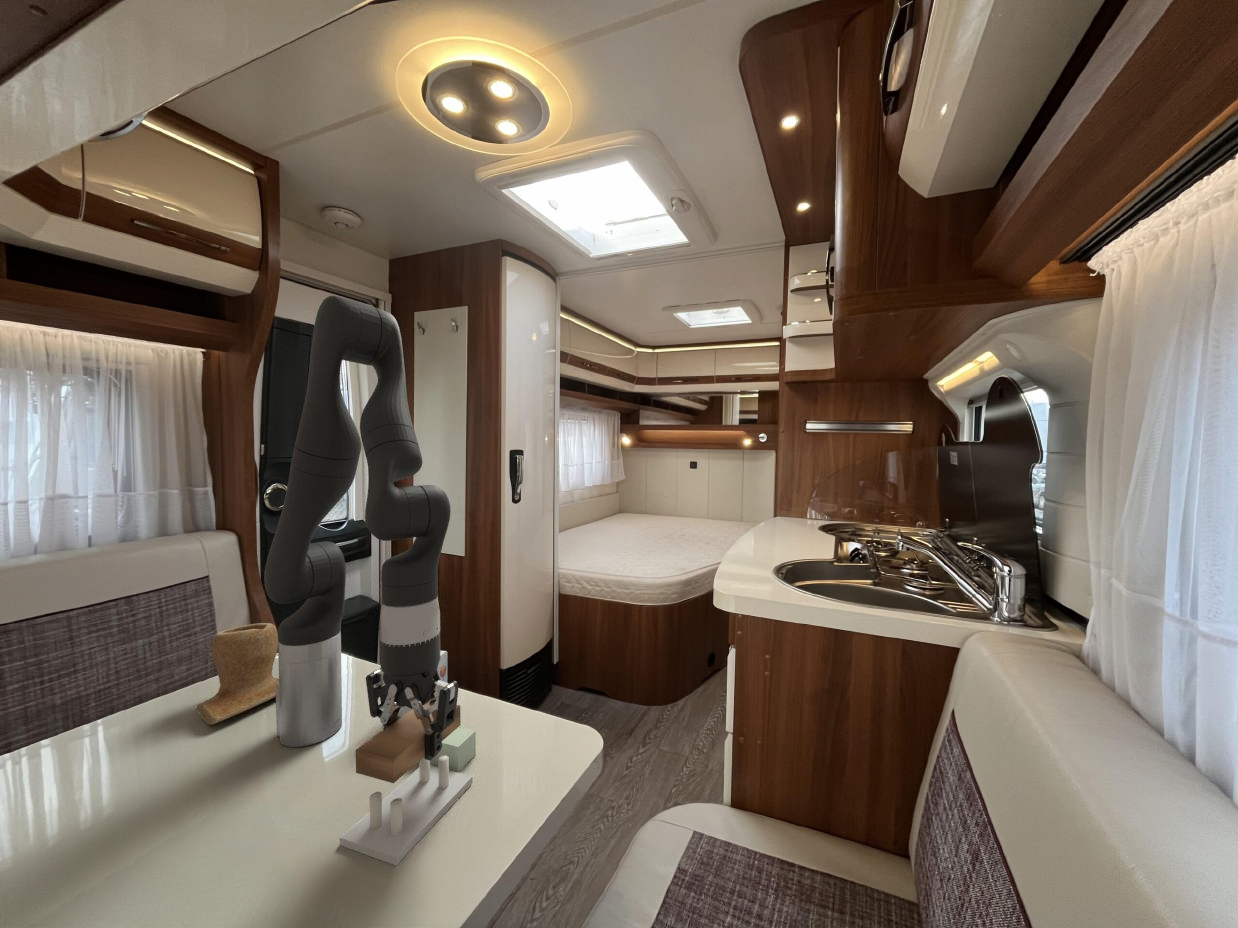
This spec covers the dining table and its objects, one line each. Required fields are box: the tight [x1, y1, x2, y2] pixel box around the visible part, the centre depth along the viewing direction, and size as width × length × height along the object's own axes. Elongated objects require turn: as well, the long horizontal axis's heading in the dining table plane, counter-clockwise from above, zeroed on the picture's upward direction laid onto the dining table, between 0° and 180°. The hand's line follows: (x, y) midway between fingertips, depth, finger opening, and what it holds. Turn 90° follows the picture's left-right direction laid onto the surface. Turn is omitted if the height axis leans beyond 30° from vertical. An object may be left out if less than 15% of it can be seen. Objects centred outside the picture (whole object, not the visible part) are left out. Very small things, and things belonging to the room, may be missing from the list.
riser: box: [430, 726, 477, 773], centre depth 78 cm, size 10×4×4 cm, turn 71°
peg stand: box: [339, 756, 473, 866], centre depth 66 cm, size 9×15×5 cm, turn 161°
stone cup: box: [195, 622, 279, 725], centre depth 93 cm, size 15×12×15 cm
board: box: [355, 701, 462, 784], centre depth 66 cm, size 13×6×3 cm, turn 161°
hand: (412, 751), depth 66 cm, fingers closed on board, 6 cm apart
